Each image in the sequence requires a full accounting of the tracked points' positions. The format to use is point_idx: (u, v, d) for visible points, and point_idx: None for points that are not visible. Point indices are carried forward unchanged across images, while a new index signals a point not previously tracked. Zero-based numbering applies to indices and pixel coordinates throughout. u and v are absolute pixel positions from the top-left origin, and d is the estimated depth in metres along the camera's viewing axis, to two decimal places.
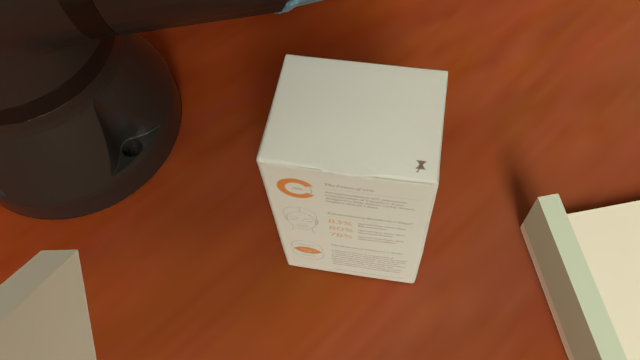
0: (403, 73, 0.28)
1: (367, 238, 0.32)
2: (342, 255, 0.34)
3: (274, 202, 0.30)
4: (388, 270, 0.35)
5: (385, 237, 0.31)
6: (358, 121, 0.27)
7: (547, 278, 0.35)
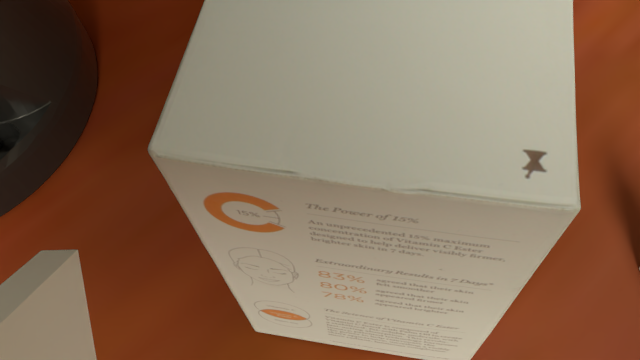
0: None
1: (393, 303, 0.17)
2: (345, 324, 0.19)
3: (208, 239, 0.15)
4: (426, 348, 0.20)
5: (428, 304, 0.16)
6: (381, 62, 0.12)
7: None
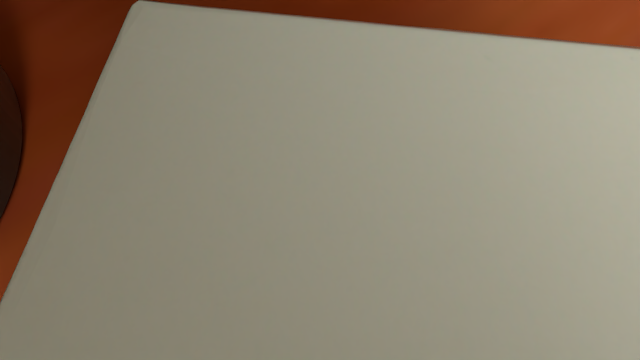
0: None
1: None
2: None
3: None
4: None
5: None
6: None
7: None
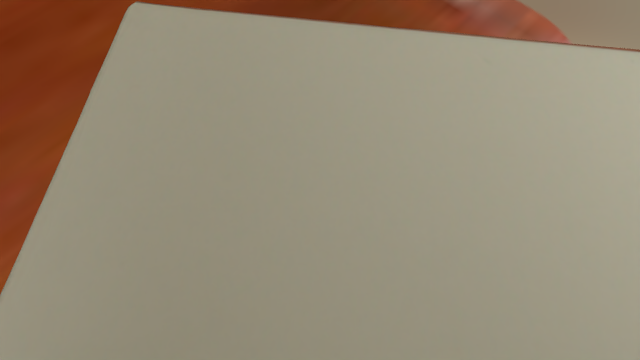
0: None
1: None
2: None
3: None
4: None
5: None
6: None
7: None
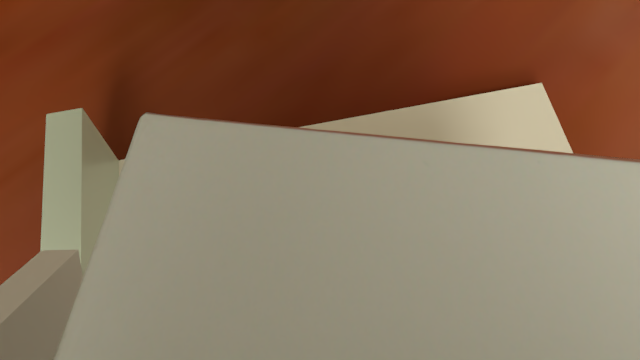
0: (575, 184, 0.07)
1: None
2: None
3: None
4: None
5: None
6: None
7: None
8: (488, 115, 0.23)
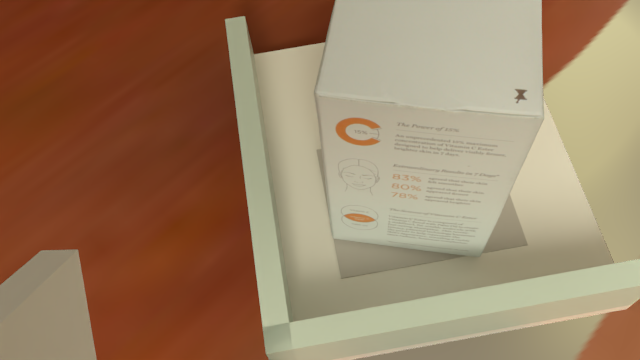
0: None
1: (436, 198, 0.27)
2: (401, 222, 0.29)
3: (328, 153, 0.25)
4: (453, 240, 0.30)
5: (459, 196, 0.26)
6: (437, 45, 0.22)
7: None
8: None
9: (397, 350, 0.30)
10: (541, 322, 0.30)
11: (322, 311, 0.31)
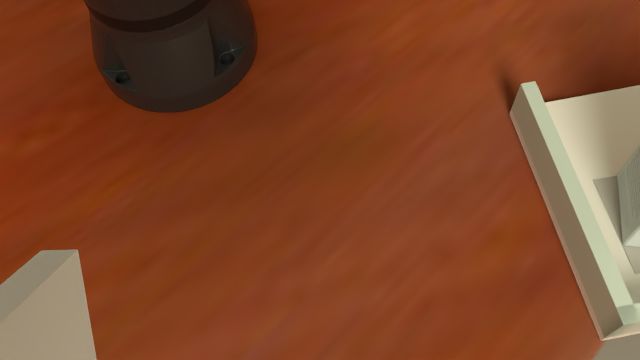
0: None
1: None
2: None
3: None
4: None
5: None
6: None
7: (528, 143, 0.50)
8: None
9: None
10: None
11: None
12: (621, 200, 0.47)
